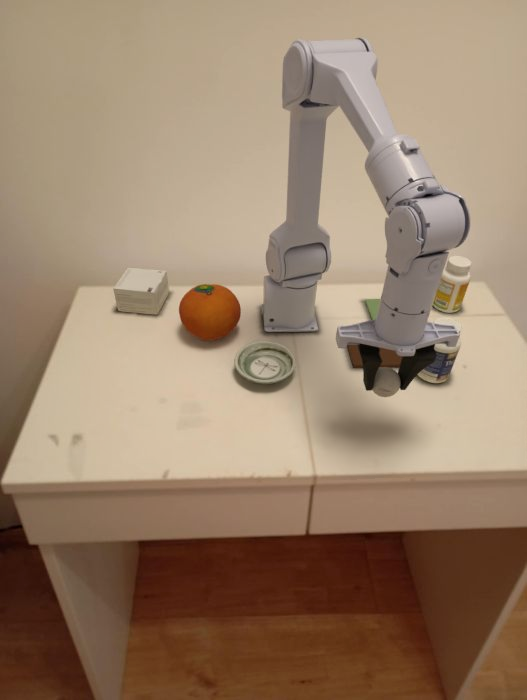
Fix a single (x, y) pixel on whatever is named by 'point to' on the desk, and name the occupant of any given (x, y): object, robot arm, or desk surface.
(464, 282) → the supplement bottle
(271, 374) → the saucer
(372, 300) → the sage mat
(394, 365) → the walnut mat
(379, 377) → the golf ball
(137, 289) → the small box
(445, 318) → the pill bottle
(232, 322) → the fruit
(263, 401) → the desk surface
